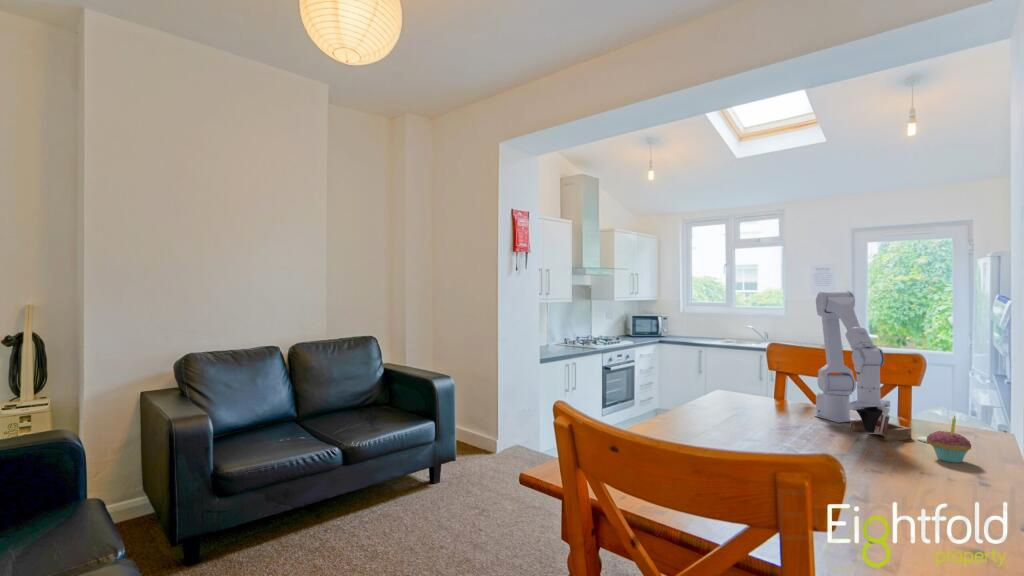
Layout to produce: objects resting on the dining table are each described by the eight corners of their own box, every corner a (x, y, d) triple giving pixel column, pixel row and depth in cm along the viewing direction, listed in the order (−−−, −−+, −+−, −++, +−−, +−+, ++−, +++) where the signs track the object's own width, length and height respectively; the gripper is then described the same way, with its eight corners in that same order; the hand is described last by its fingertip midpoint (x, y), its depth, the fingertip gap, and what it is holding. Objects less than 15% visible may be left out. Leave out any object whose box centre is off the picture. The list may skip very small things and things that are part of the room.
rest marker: (911, 438, 140) (911, 437, 140) (926, 437, 141) (926, 436, 141) (934, 445, 134) (934, 444, 134) (949, 443, 135) (949, 442, 135)
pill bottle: (878, 433, 145) (884, 407, 146) (889, 437, 141) (895, 409, 141) (862, 429, 146) (868, 403, 147) (872, 432, 141) (878, 405, 142)
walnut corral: (850, 430, 148) (850, 421, 149) (872, 428, 151) (872, 418, 151) (888, 441, 138) (887, 431, 138) (911, 438, 140) (911, 428, 140)
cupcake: (981, 465, 118) (980, 417, 118) (947, 465, 119) (946, 418, 119) (950, 453, 127) (949, 409, 127) (918, 453, 127) (917, 409, 127)
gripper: (863, 391, 137) (864, 438, 137) (900, 388, 141) (901, 433, 141) (840, 386, 144) (841, 431, 144) (876, 384, 148) (877, 427, 148)
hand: (869, 432), depth 143 cm, fingers closed, pressing on pill bottle
